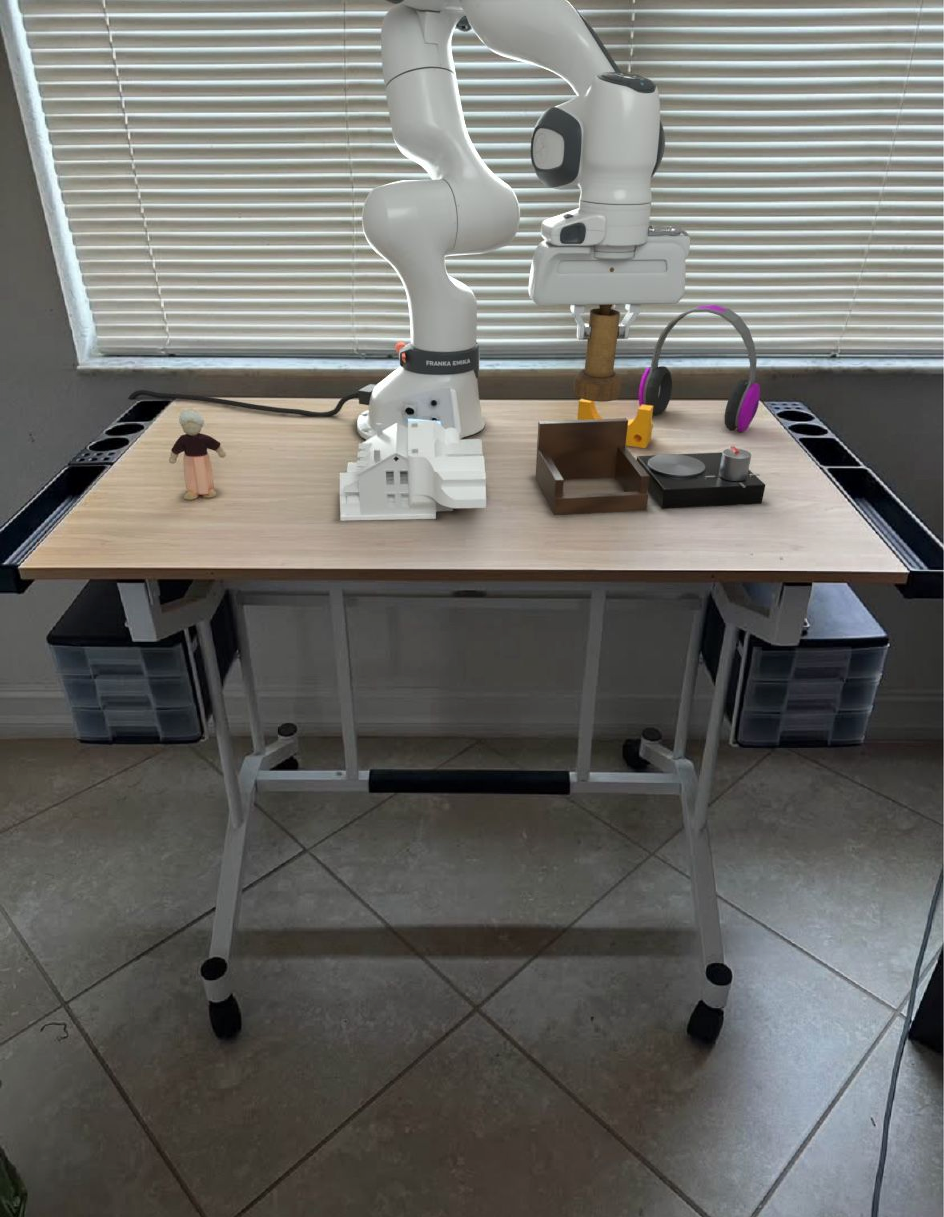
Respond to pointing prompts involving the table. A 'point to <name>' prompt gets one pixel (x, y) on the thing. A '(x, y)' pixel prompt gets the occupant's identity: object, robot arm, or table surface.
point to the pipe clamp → (637, 427)
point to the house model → (413, 474)
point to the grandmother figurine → (196, 455)
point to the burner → (676, 465)
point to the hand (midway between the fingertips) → (601, 338)
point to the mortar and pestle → (600, 358)
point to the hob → (702, 486)
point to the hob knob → (734, 464)
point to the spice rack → (589, 465)
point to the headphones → (743, 395)
